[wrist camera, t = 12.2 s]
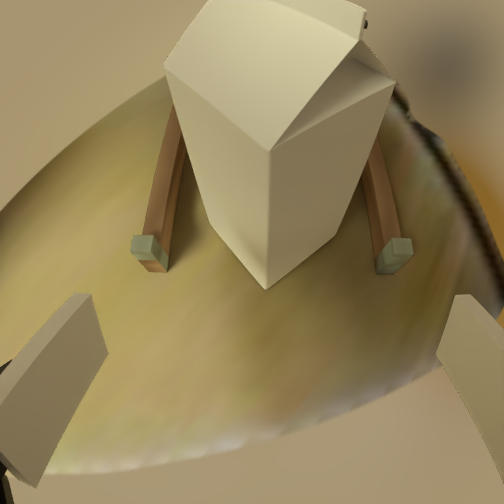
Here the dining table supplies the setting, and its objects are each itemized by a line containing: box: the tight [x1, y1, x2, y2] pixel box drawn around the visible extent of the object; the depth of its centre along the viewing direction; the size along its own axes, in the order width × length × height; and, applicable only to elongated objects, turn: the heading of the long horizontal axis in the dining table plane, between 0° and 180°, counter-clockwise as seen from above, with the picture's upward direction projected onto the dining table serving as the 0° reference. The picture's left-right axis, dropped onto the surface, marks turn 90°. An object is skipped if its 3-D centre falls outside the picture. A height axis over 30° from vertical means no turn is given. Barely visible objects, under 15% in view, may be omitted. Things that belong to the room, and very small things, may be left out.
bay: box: [130, 20, 414, 274], centre depth 23 cm, size 19×21×11 cm
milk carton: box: [163, 0, 396, 290], centre depth 16 cm, size 7×7×19 cm
